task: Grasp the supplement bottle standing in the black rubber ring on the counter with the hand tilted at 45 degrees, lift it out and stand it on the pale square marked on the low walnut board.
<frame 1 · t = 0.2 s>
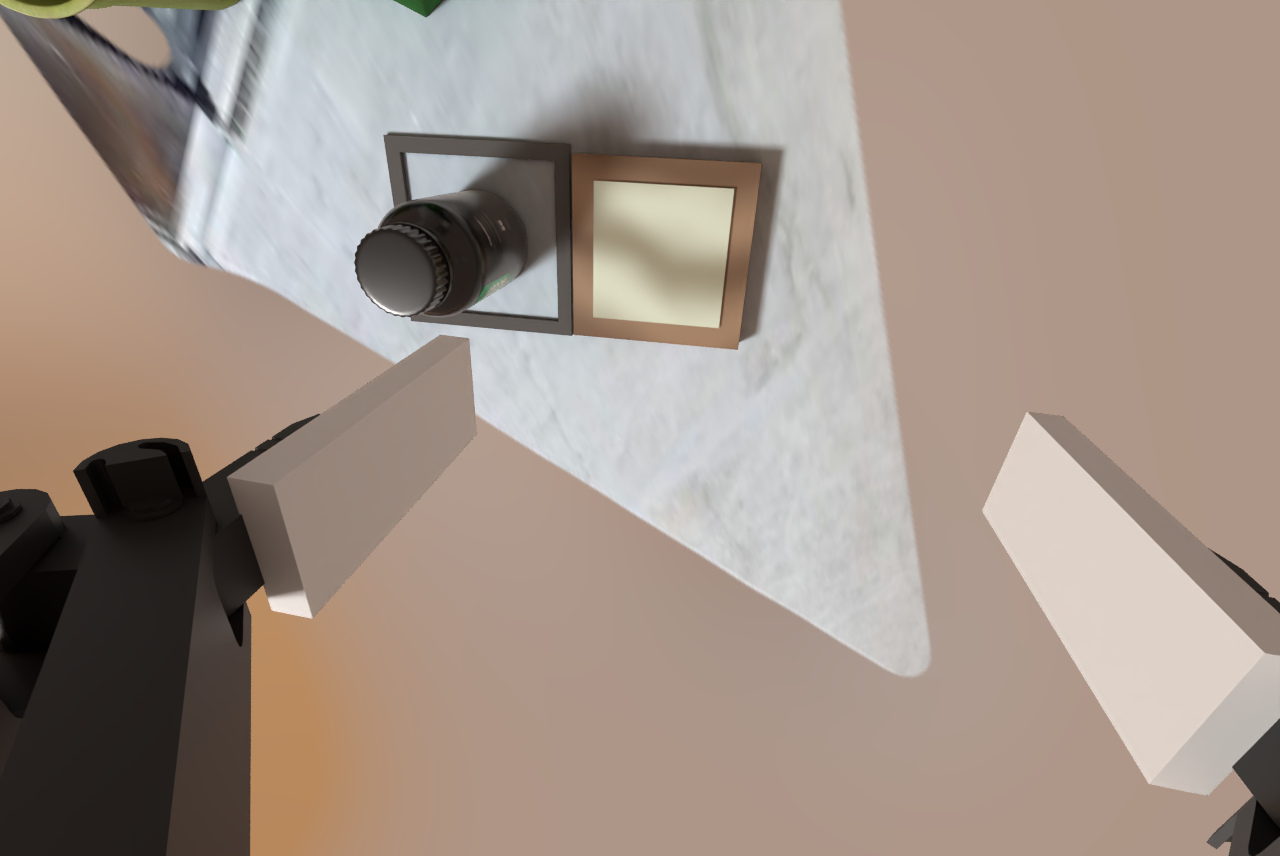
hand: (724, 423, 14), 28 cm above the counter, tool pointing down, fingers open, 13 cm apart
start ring: (484, 240, 41), on the counter
supplement bottle: (485, 239, 41), on the counter
walnut board: (661, 253, 39), on the counter
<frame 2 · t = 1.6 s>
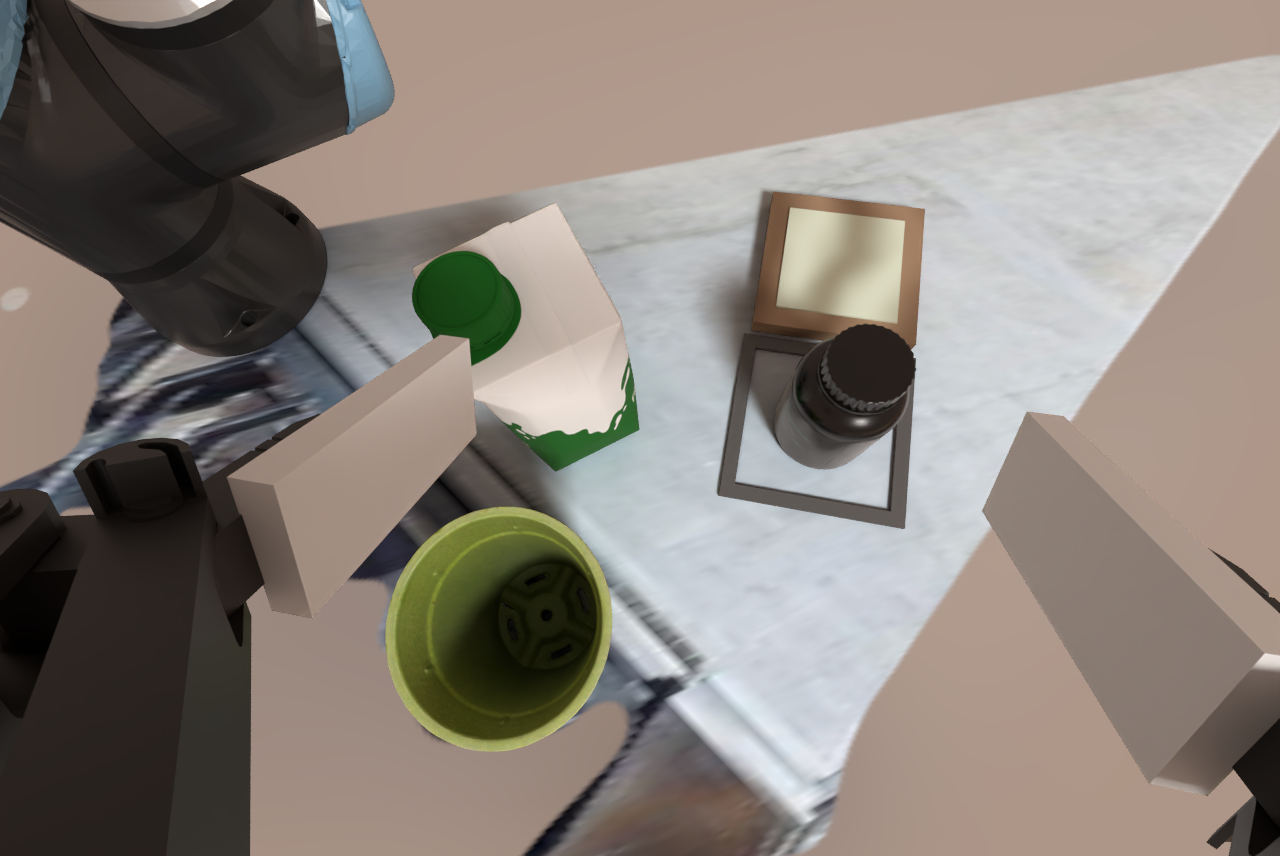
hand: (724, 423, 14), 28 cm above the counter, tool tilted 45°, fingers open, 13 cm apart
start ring: (818, 426, 42), on the counter
supplement bottle: (818, 427, 42), on the counter
milk carton: (580, 413, 44), on the counter
plant pot: (547, 614, 40), on the counter
walnut board: (835, 274, 45), on the counter
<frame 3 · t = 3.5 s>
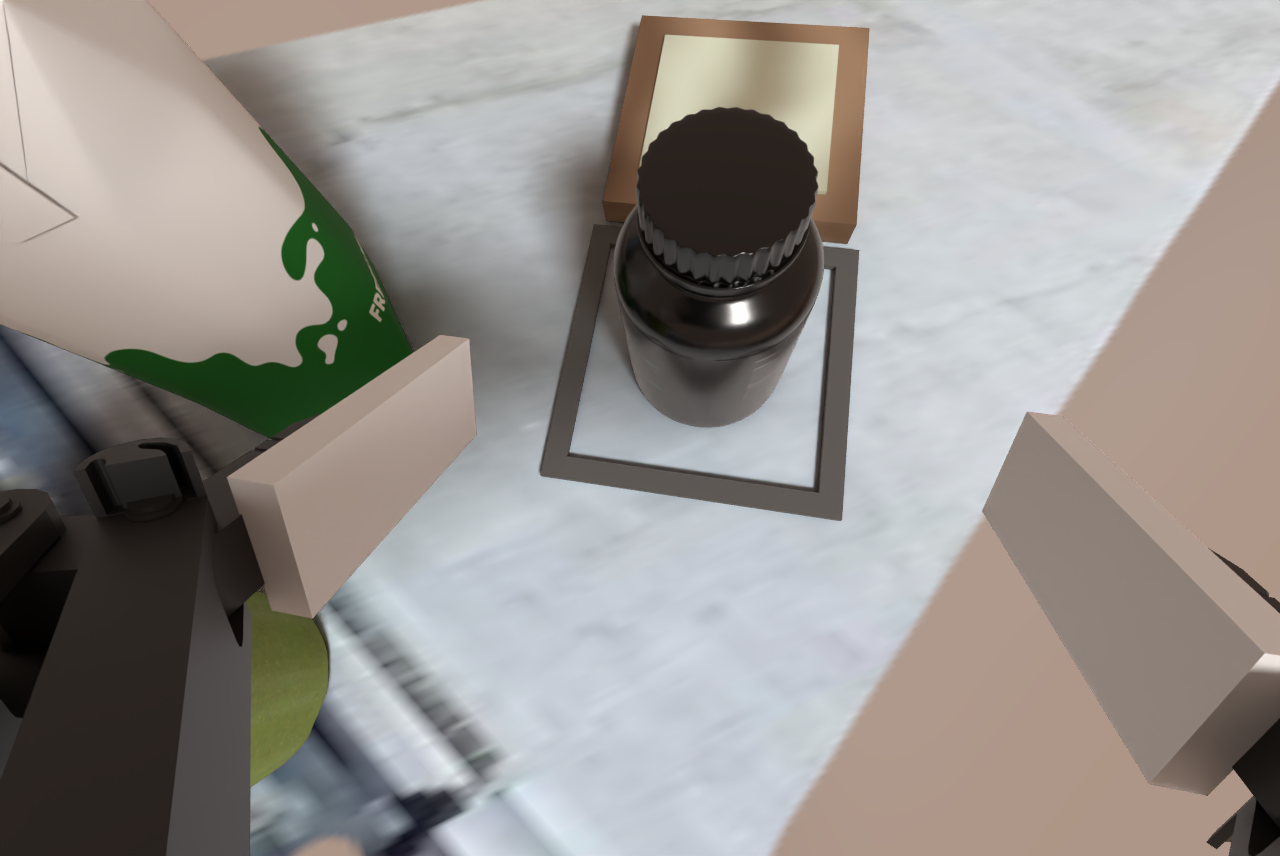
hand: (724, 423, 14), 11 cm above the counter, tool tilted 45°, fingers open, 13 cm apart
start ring: (705, 360, 26), on the counter
supplement bottle: (705, 362, 26), on the counter
milk carton: (337, 354, 28), on the counter
plant pot: (249, 684, 24), on the counter
walnut board: (737, 134, 30), on the counter
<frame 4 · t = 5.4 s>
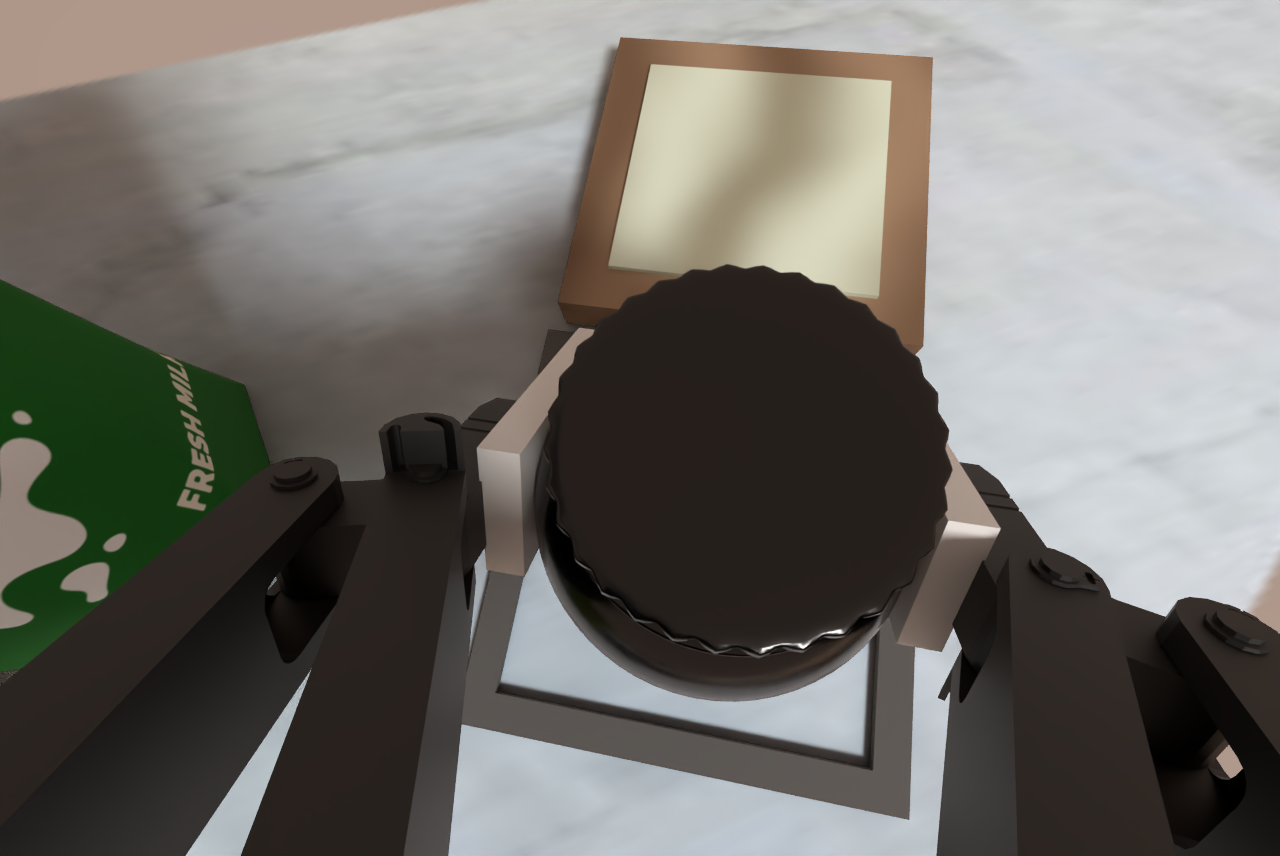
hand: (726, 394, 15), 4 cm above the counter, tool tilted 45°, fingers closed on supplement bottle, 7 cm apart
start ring: (702, 540, 18), on the counter
supplement bottle: (702, 541, 18), on the counter, touching gripper
milk carton: (184, 513, 20), on the counter
walnut board: (749, 202, 22), on the counter
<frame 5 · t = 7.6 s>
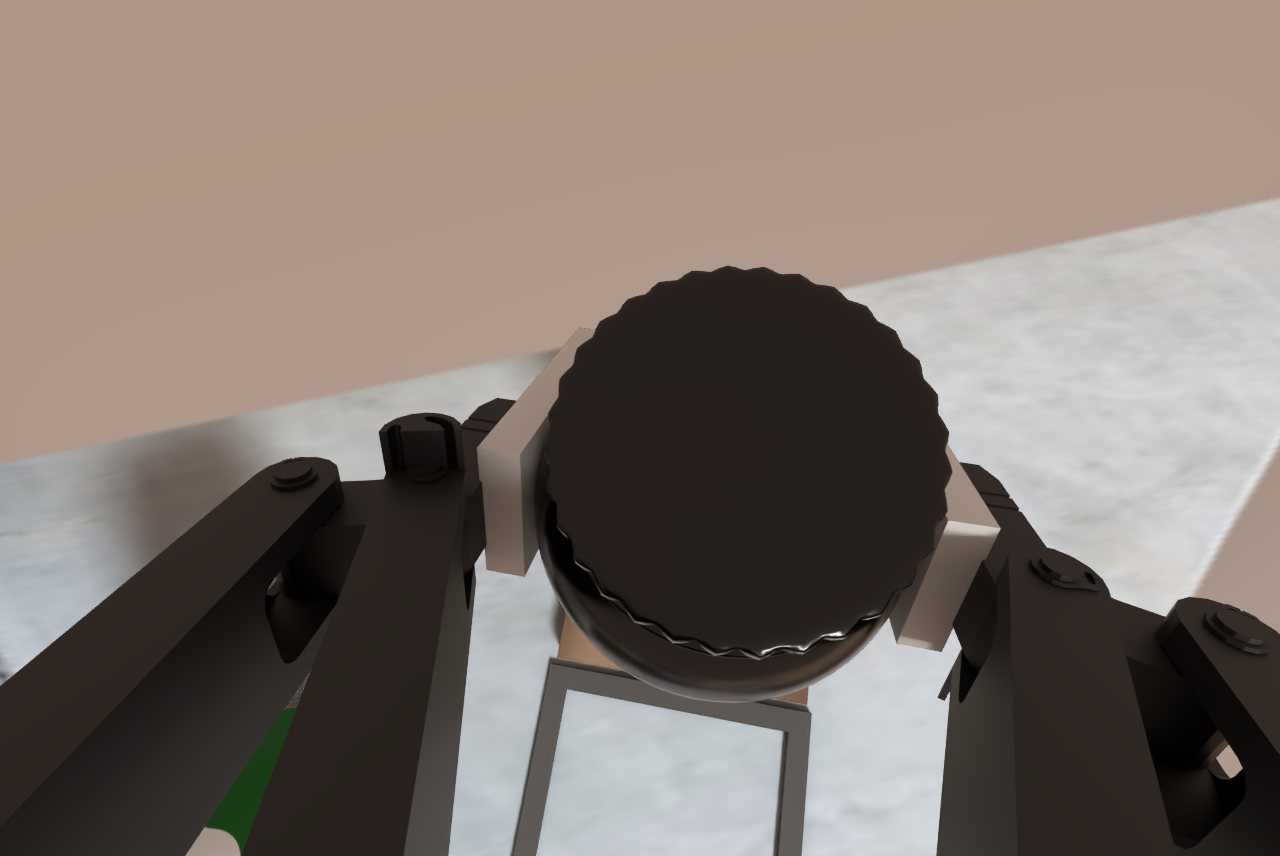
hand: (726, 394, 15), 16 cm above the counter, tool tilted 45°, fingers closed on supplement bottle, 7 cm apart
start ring: (657, 836, 26), on the counter
supplement bottle: (702, 541, 18), point 12 cm above the counter, touching gripper
milk carton: (295, 801, 28), on the counter
walnut board: (695, 555, 30), on the counter
when the fingers open (7 cm above the counter, at t = 9.7 s): supplement bottle drops 1 cm, resting on walnut board.
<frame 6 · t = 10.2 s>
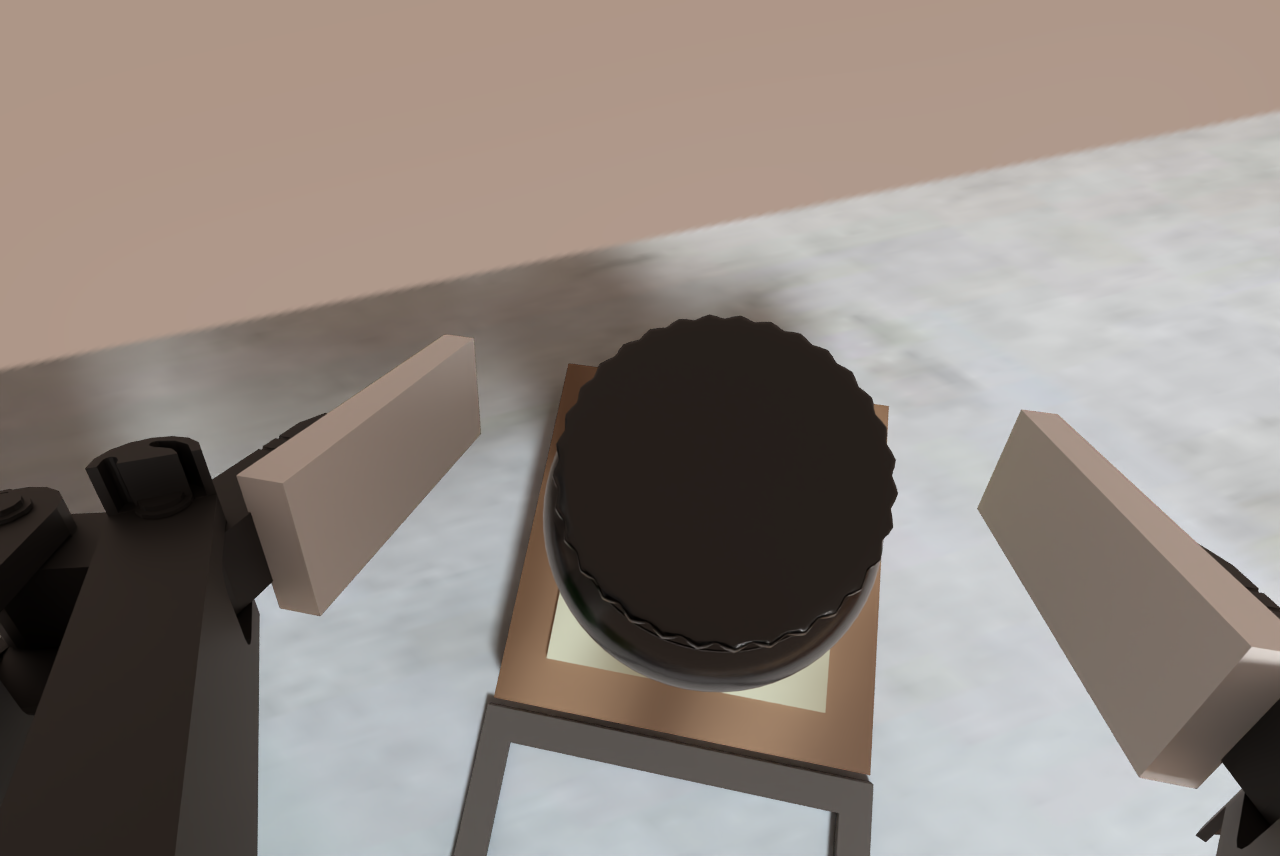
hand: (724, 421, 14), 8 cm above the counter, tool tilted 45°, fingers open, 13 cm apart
supplement bottle: (698, 545, 19), point 2 cm above the counter, touching walnut board
walnut board: (699, 548, 21), on the counter
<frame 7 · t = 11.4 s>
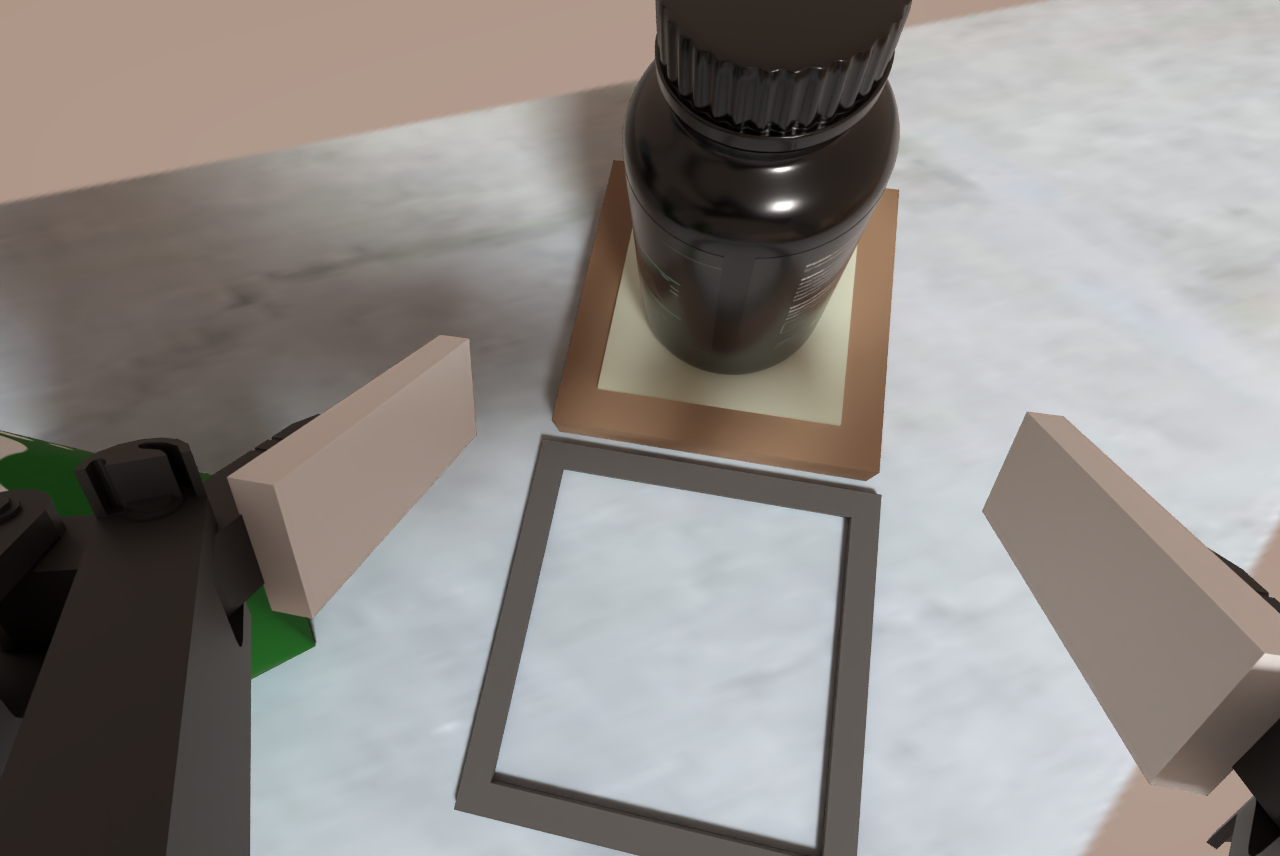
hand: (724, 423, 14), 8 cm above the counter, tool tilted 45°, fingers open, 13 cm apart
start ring: (678, 643, 20), on the counter
supplement bottle: (729, 301, 22), point 2 cm above the counter, touching walnut board
milk carton: (211, 603, 22), on the counter
walnut board: (729, 318, 24), on the counter
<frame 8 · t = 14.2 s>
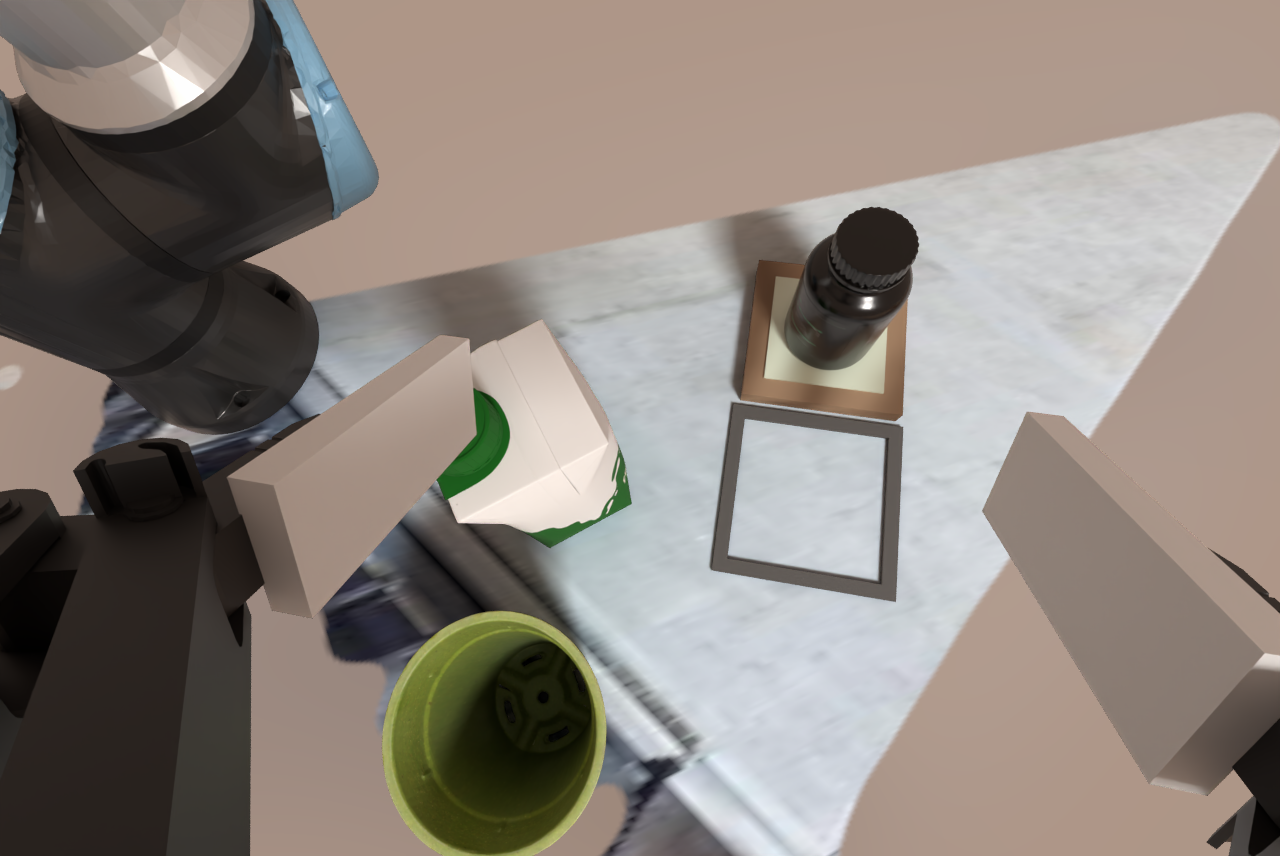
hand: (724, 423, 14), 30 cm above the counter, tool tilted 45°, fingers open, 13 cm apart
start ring: (808, 497, 42), on the counter
supplement bottle: (825, 334, 45), point 2 cm above the counter, touching walnut board
milk carton: (572, 486, 44), on the counter
plant pot: (543, 695, 40), on the counter
walnut board: (822, 341, 46), on the counter
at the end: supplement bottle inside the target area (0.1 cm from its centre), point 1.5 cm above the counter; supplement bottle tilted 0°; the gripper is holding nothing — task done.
